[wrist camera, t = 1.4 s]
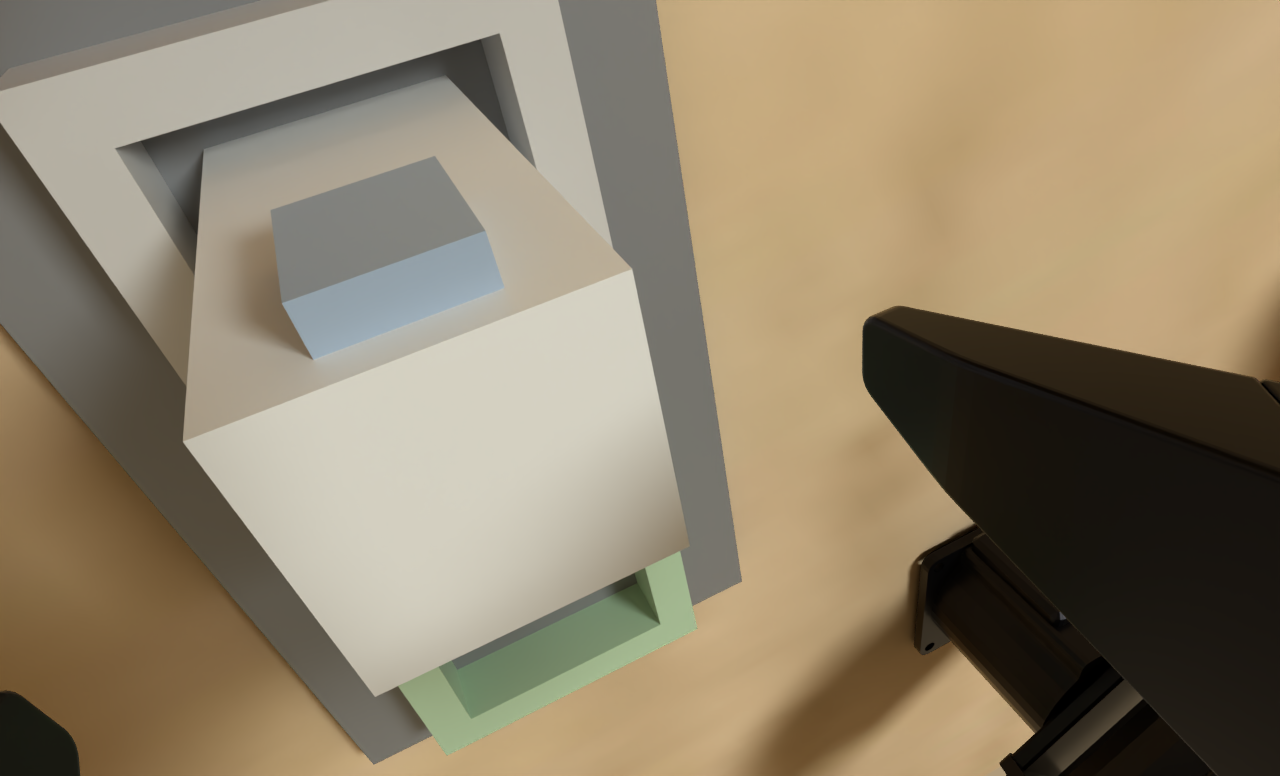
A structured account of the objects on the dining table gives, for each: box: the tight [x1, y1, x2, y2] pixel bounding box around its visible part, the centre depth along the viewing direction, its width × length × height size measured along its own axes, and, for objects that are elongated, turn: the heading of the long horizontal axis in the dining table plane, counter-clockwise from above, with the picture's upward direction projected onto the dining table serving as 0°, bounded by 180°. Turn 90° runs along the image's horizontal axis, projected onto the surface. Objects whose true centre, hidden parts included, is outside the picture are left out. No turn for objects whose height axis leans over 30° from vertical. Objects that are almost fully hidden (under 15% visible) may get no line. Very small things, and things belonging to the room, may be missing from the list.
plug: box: [183, 75, 690, 697], centre depth 11 cm, size 5×4×8 cm
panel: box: [0, 0, 742, 764], centre depth 17 cm, size 20×12×2 cm, turn 11°
